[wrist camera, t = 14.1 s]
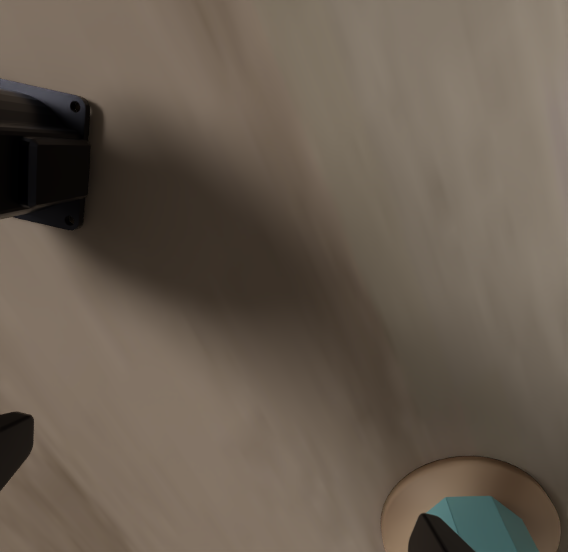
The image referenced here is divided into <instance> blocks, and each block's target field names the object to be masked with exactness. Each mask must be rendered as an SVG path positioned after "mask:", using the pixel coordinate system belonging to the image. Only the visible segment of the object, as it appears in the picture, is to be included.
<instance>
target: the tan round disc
mask: <svg viewBox="0 0 568 552" xmlns="http://www.w3.org/2000/svg"><path fill="white" fill-rule="evenodd" d="M463 496H492V497H493V498H494V499H496V500H497V501H498V502H500V503H501V504H502V505H504V506H505V507H506V508H508V509H509V510H510V511H512V512H513V513H514V514H516V515H517V516H518V517H520V518H521V519H522V520H523V522H524V524H525V526H526V528H527V530H528V532H529V533H530V535H531V537H532V539H533V541H534V543H535V545H536V547H537V548H538V550H539V552H557V549H558V546H559V542H560V535H561V527H560V521H559V517H558V514H557V511H556V509H555V507H554V505H553V504H552V502H551V501H550V499H549V497H548V496H547V494H546V493H545V491H544V490H543V489H542V487H541V486H540V485H539V484H538V483H537V482H536V481H535V480H534V479H533V478H532V477H531V476H530V475H528V474H527V473H526V472H524V471H522V470H521V469H519V468H517V467H515V466H513V465H511V464H508V463H506V462H503V461H499V460H496V459H491V458H486V457H476V456H460V457H452V458H446V459H442V460H438V461H435V462H432V463H429V464H426V465H424V466H422V467H420V468H418V469H416V470H414V471H413V472H411V473H410V474H408V475H407V476H406V477H404V478H403V479H402V480H401V481H400V482H399V483H398V484H397V485H396V486H395V487H394V488H393V489H392V491H391V492H390V494H389V495H388V497H387V499H386V501H385V503H384V506H383V510H382V514H381V531H382V538H383V543H384V548H385V551H386V552H408V543H409V538H410V536H411V533H412V531H413V529H414V526H415V524H416V521H417V519H418V517H419V515H420V514H421V513H426V512H428V511H429V510H430V509H431V508H433V507H434V506H435V505H436V504H438V503H439V502H440V501H441V500H443V499H444V498H445V497H463Z"/></svg>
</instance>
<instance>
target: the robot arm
mask: <svg viewBox="0 0 568 552" xmlns="http://www.w3.org/2000/svg"><path fill="white" fill-rule="evenodd" d="M77 102H78V103H79V104H80V111H79V112H77V111H76V110H75V104H76V103H77ZM89 118H90V106H89V103H88V101H87V100H86V99H85V98H83V97H80V96H76V95H72V94H67V93H63V92H58V91H54V90H49V89H45V88H40V87H36V86H31V85H27V84H23V83H18V82H14V81H9V80H5V79H0V219H4V218H9V217H15V218H19V219H23V220H28V221H32V222H36V223H40V224H45V225H49V226H53V227H58V228H62V229H66V230H75V229H78V228H80V227H81V226H82V224H83V217H84V201H85V196H87V194H88V179H89V163H90V145H89V143H88V135H89ZM70 216H71V217H72V218H73V219H74V224H72V223H71V222H70V220H69V217H70ZM33 436H34V419H33V417H32V416H31V415H29V414H25V413H21V412H10V413H6V414H2V415H0V491H1V490H2V488H3V487H4V486H5V485H6V483H7V482H8V481H9V480H10V478H11V477H12V476H13V475H14V473H15V472H16V471H17V470H18V469H19V467H20V466H21V465H22V464H23V462H24V461H25V460H26V459H27V457H28V456H29V454H30V452H31V450H32V447H33ZM408 552H475V551H474V550H473V549H472V548H471V547H470V546H469V545H468V544H467V543H466V542H465V541H464V540H463V539H462V538H461V537H460V536H459V535H458V534H457V533H456V532H455V531H454V530H453V529H452V528H450V527H449V526H448V525H447V524H446V523H445V522H444V521H443V520H442V519H441V518H440V517H438V516H435V515H431V514H427V513H421V514H420V515H419V517H418V519H417V521H416V524H415V526H414V529H413V531H412V533H411V536H410V538H409V543H408Z"/></svg>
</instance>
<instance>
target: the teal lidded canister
mask: <svg viewBox="0 0 568 552" xmlns="http://www.w3.org/2000/svg"><path fill="white" fill-rule="evenodd" d="M426 513H427V514H431V515H435V516H438V517H440V518H441V519H442V520H443V521H444V522H445V523H446V524H447V525H448V526H449V527H450V528H452V529H453V530H454V531H455V532H456V533H457V534H458V535H459V536H460V537H461V538H462V539H463V540H464V541H465V542H466V543H467V544H468V545H469V546H470V547H471V548H472V549H473V550H474V551H475V552H539V550H538V548H537V547H536V545H535V543H534V541H533V539H532V537H531V535H530V533H529V532H528V530H527V528H526V526H525V524H524V522H523V520H522V519H521V518H520V517H518V516H517V515H516V514H514V513H513V512H512V511H510V510H509V509H508V508H506V507H505V506H504V505H502V504H501V503H500V502H498V501H497V500H496V499H494V498H493V497H492V496H463V497H445V498H444V499H443V500H441V501H440V502H439V503H438V504H436V505H435V506H434V507H433V508H431V509H430V510H429V511H428V512H426Z"/></svg>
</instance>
